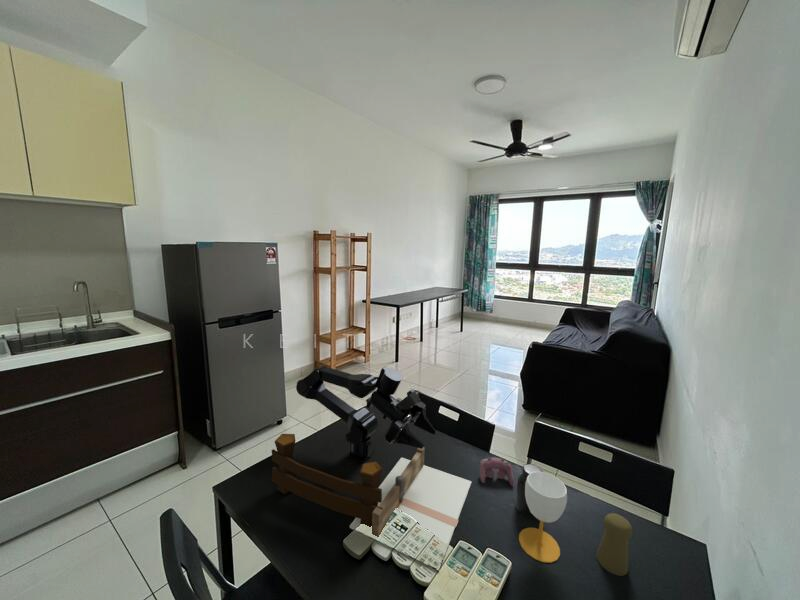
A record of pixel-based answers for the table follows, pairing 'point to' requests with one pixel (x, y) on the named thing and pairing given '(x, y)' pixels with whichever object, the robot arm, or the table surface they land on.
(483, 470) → the video game controller
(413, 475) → the fence panel
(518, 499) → the supplement bottle
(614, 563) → the cork
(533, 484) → the cup
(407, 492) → the card
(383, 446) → the table surface
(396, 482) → the fence fixed section
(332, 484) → the decorative fence
